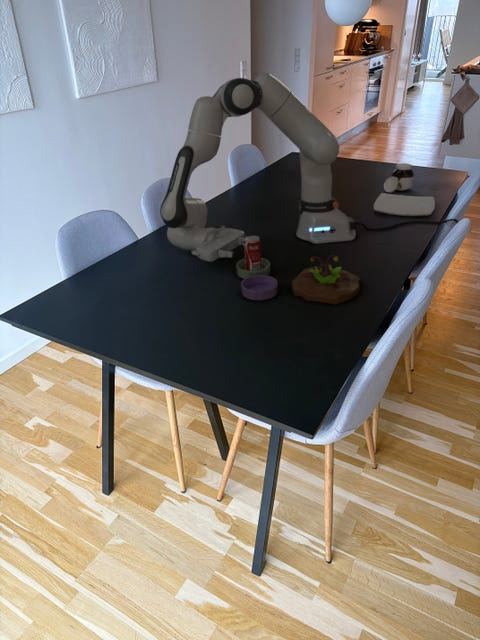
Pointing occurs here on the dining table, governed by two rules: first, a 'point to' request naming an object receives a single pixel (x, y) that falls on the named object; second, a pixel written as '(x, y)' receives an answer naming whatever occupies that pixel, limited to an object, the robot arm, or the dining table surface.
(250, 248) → the soda can
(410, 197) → the plate
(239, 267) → the green bowl
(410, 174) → the spread jar
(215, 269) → the dining table surface
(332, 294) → the plant
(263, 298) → the lavender bowl
